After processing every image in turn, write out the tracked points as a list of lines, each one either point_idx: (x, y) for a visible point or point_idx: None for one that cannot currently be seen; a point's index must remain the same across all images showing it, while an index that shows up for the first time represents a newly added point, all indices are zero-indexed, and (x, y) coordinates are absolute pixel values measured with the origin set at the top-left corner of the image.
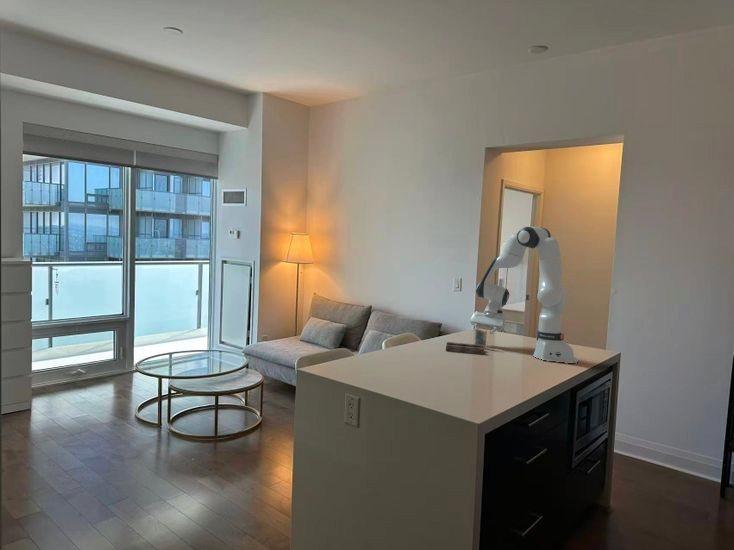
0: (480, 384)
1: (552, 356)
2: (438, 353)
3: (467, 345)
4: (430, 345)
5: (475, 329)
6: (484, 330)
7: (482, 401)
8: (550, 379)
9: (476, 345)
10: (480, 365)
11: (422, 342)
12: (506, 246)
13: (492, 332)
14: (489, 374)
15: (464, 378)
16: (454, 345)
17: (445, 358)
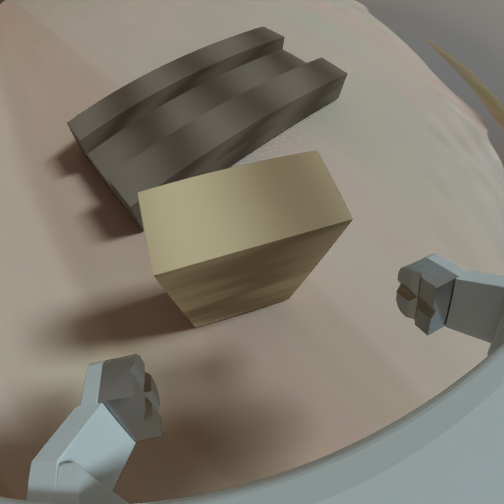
0: (13, 20)
1: None
2: (242, 23)
3: (219, 109)
4: (396, 86)
5: (420, 261)
6: (203, 255)
7: (4, 10)
8: None
9: (163, 144)
10: (38, 56)
11: (454, 109)
12: None
13: (94, 379)
14: (4, 47)
15: (45, 7)
16: (244, 46)
17: (169, 12)
